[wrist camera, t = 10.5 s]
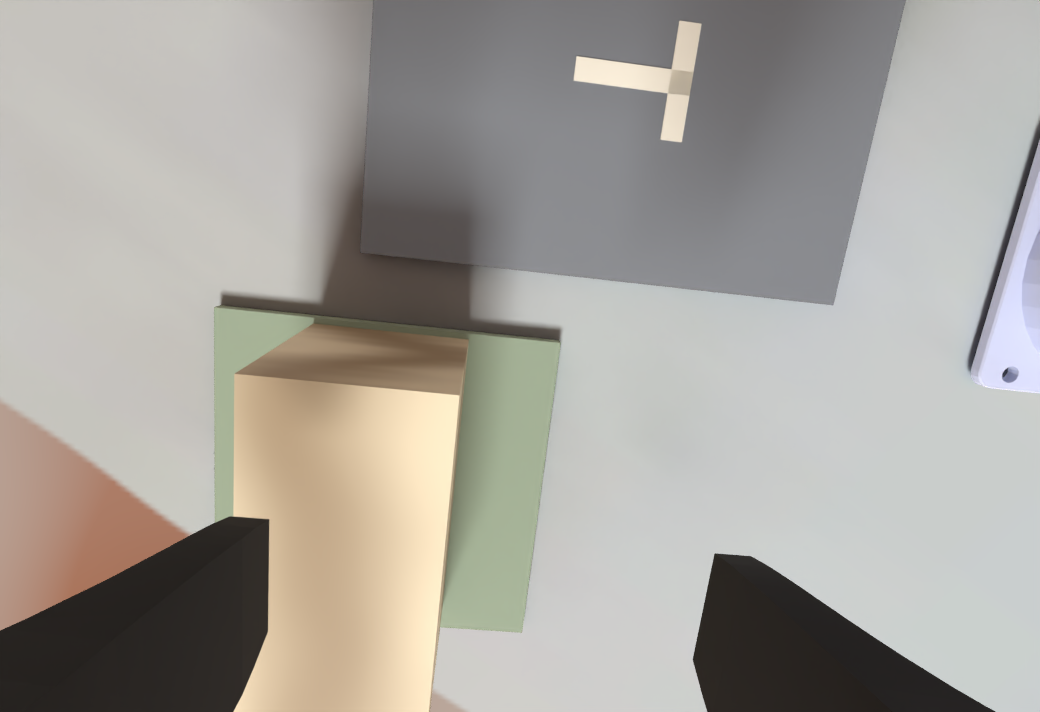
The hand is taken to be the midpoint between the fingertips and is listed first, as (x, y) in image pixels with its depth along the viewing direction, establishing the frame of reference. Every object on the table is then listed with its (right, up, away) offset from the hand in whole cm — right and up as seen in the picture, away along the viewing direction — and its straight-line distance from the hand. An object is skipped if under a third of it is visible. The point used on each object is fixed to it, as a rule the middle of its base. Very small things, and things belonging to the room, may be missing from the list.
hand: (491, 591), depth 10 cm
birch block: (-4, 0, +9) cm, 10 cm away
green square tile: (-4, 0, +9) cm, 10 cm away
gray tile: (+4, +14, +6) cm, 16 cm away
